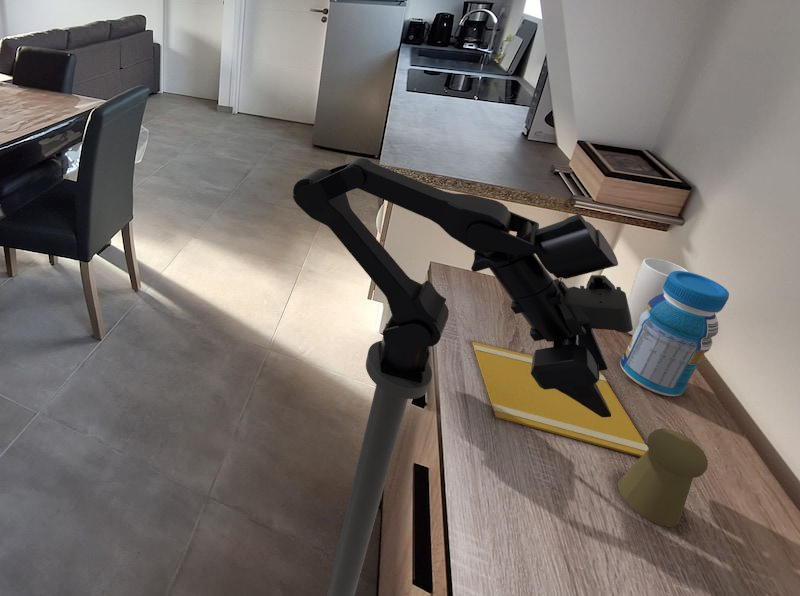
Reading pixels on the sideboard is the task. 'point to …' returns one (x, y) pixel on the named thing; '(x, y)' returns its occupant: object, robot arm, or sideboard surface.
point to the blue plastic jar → (674, 333)
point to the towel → (552, 403)
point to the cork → (663, 477)
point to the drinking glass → (648, 286)
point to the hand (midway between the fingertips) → (605, 391)
